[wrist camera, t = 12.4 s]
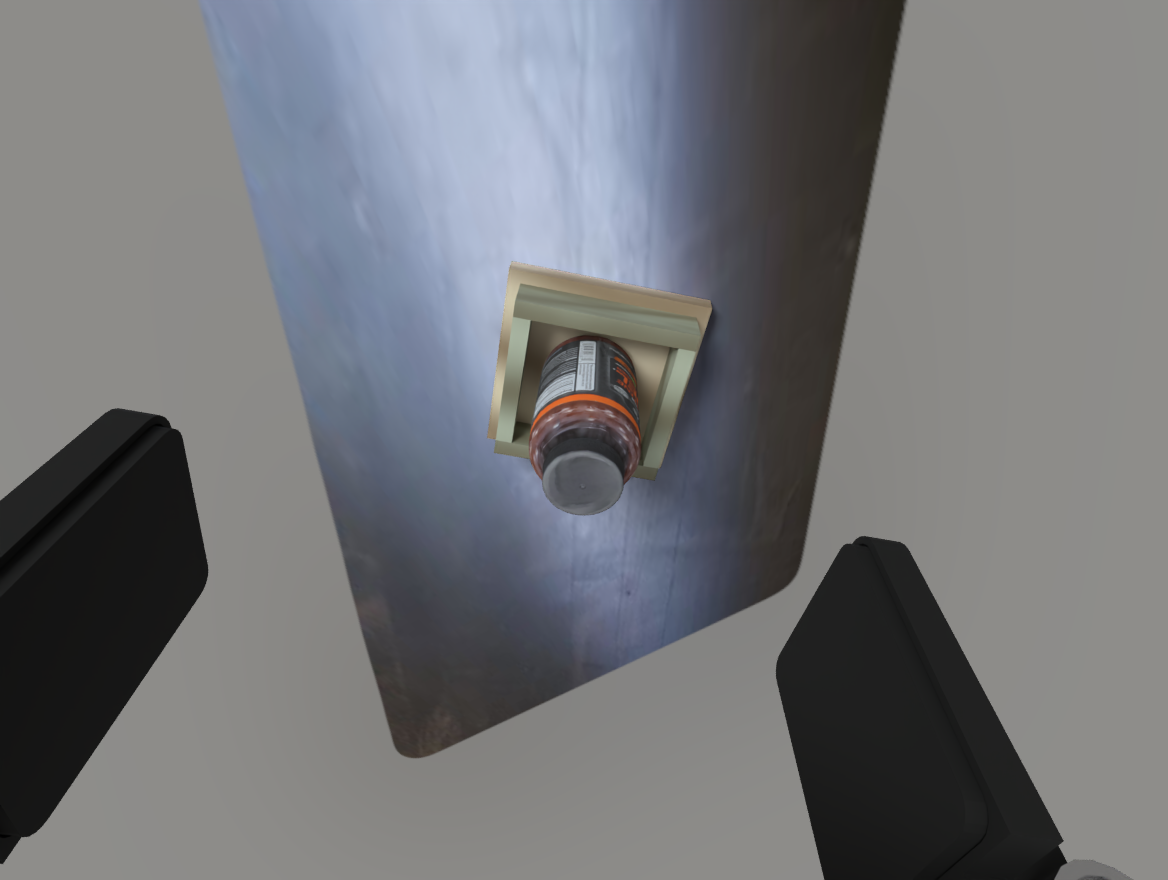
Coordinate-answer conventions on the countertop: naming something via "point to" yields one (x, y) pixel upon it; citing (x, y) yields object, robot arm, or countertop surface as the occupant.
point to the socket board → (598, 308)
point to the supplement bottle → (586, 425)
